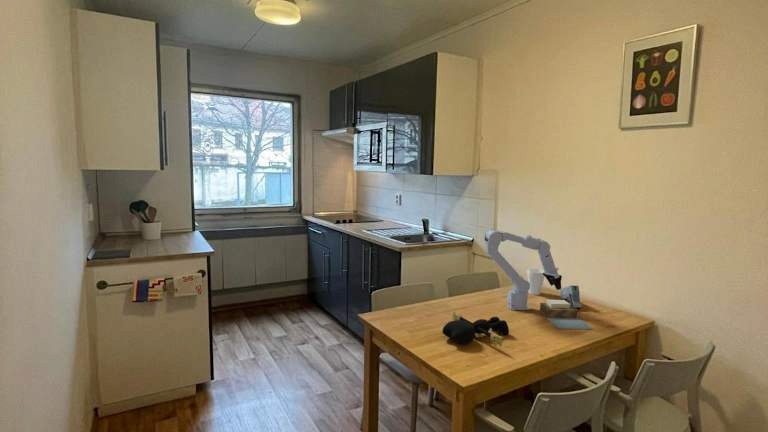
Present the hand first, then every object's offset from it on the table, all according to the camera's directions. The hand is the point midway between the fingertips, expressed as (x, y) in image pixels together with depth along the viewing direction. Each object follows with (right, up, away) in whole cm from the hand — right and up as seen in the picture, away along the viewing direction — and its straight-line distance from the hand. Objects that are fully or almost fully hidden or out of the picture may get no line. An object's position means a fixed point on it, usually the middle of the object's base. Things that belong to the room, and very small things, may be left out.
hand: (556, 287), depth 217 cm
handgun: (+11, -11, +9) cm, 17 cm away
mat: (-2, -14, -19) cm, 24 cm away
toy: (-49, -16, -37) cm, 63 cm away
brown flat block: (-2, -12, -8) cm, 14 cm away
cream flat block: (-2, -8, -7) cm, 11 cm away
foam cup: (-2, -8, +26) cm, 27 cm away
